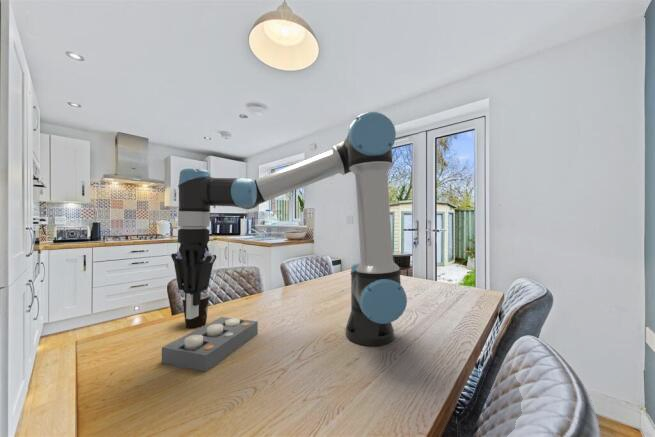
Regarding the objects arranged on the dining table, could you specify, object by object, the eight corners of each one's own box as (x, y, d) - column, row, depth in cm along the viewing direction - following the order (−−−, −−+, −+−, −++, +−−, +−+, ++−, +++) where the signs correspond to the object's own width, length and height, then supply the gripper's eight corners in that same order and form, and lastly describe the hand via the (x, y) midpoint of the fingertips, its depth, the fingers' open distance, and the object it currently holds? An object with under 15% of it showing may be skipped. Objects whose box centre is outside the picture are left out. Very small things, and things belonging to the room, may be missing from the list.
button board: (257, 333, 87) (257, 320, 87) (205, 371, 65) (205, 354, 65) (221, 328, 91) (221, 316, 91) (161, 362, 69) (161, 346, 69)
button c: (206, 343, 72) (206, 335, 72) (194, 350, 68) (194, 343, 68) (193, 341, 73) (193, 333, 73) (180, 348, 69) (180, 340, 69)
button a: (242, 325, 87) (242, 318, 87) (234, 330, 83) (234, 323, 83) (231, 323, 89) (231, 317, 89) (222, 328, 84) (222, 322, 84)
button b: (226, 331, 80) (226, 324, 80) (216, 337, 75) (216, 330, 75) (214, 329, 81) (214, 323, 81) (203, 335, 77) (203, 328, 77)
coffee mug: (198, 330, 89) (198, 300, 89) (176, 328, 91) (176, 299, 91) (219, 318, 101) (219, 291, 101) (199, 316, 103) (199, 290, 103)
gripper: (224, 228, 72) (222, 315, 72) (186, 227, 76) (184, 310, 76) (203, 228, 65) (201, 325, 65) (162, 227, 69) (160, 319, 69)
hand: (192, 317), depth 71 cm, fingers closed
